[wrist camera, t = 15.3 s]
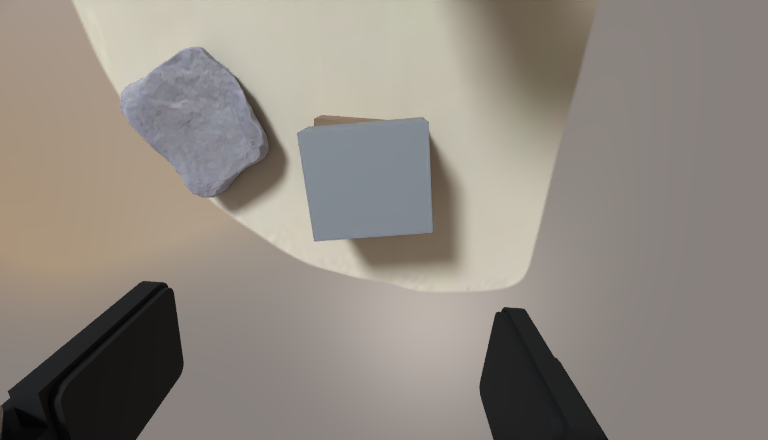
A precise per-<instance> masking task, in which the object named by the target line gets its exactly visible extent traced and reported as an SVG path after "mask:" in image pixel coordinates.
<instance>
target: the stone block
mask: <svg viewBox="0 0 768 440" xmlns="http://www.w3.org/2000/svg"><path fill="white" fill-rule="evenodd" d="M120 108H121V112H122V113H123V115H124V116H125V118H126V119H127V120H128V123H129V124H130V125H131V126H132V127H133V128H134V129H135V131H136V132H137V133H138V134H139V135H140V136H141V137H142V138H143V139H144V140H145V141H146V142H147V143H148V144H149V145H150V146H151V147H152V148H153V149H155V150H156V151H157V152H158V153H160V154H161V155H162V156H163V157H164V158H165V159H166V160H167V161H168V162H169V163H170V164H171V165H172V166H173V167H174V169H175V170H176V172H177V173H179V174H180V175H181V177H182V179H183V181H184V183H185V185H186V187H187V188H188V189H189V190H190V191H191V192H192V193H193V194H196V195H198V196H201V197H215V196H217V195H219V194H220V193H222V192H224V191H226V190H227V189H228V188H229V186H230V185H231V184H232V182H233V181H234V180H235V179H236V178H237V177H238V176H239V174H240V173H241V172H242V171H243V170H244V169H246V168H247V167H249V166H251V165H253V164H256V163H258V162H260V161H261V160H263V159H264V158H265V157H266V155H267V153H268V151H269V144H268V140H267V136H266V134H265V132H264V130H263V129H262V127H261V125H260V123H259V122H258V120H257V118H256V116H255V115H254V113H253V110H252V107H251V106H250V105H249V103H248V101H247V99H246V97H245V94H244V92H243V90H242V89H241V87H240V85H239V83H238V81H237V80H236V78H235V77H234V76H233V75H231V72H230V71H229V69H227V68H226V67H225V66H223V65H222V64H220V63H219V62H217V61H216V60H215V59H214V58H213V57H212V56H211V55H210V54H209V53H208V52H207V51H206V50H205V49H203V48H202V47H191V48H187V49H184V50H182V51H179V52H178V53H177V54H175V55H174V56H173V57H172V58H170V59H169V60H167V61H165V62H164V63H162V64H161V65H159V66H158V67H157V68H155V69H154V70H153V71H152V72H150V73H149V74H148V76H146V77H144V78H141V79H140V80H138V81H136V82H134V83H132V84H129V85H128V86H127V87H125V89H124V90H123V91H122V92H121V103H120Z"/></svg>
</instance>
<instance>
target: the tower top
mask: <svg viewBox="0 0 768 440" xmlns="http://www.w3.org/2000/svg"><path fill="white" fill-rule="evenodd" d="M297 136H298V143H299V149H300V155H301V161H302V168H303V174H304V180H305V186H306V193H307V199H308V205H309V212H310V218H311V224H312V230H313V237H314V241H326V240H340V239H354V238H367V237H381V236H395V235H408V234H422V233H433V223H432V198H431V172H430V147H429V122H428V121H427V120H426V119H424V118H423V117H419V118H407V119H395V120H383V121H371V122H359V123H348V124H336V125H324V126H312V127H307V128H305V129H303V130H302V131H300V132H298V133H297Z"/></svg>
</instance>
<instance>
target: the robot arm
mask: <svg viewBox="0 0 768 440" xmlns="http://www.w3.org/2000/svg"><path fill="white" fill-rule="evenodd" d="M182 370H183V355H182V348H181V340H180V333H179V326H178V319H177V312H176V304H175V298H174V292H173V290H172V289H171V288H168V285H167V284H166V283H163V282H150V281H143V282H141V283H139V284H138V285H137V286H135V287H134V288H133V289H132V290H131V291H129V292H128V293H127V294H126V295H125V296H123V297H122V298H121V299H120V300H119V301H117V302H116V303H115V304H114V305H113V306H111V307H110V308H109V309H107V310H106V311H105V312H104V313H103V314H101V315H100V316H99V317H98V318H97V319H95V320H94V321H93V322H92V323H90V324H89V325H88V326H87V327H86V328H85V329H83V330H82V331H81V332H80V333H78V334H77V335H76V336H75V337H73V338H72V339H71V340H70V341H69V342H67V343H66V344H65V345H64V346H62V347H61V348H60V349H59V350H58V351H56V352H55V353H54V354H53V355H52V356H50V357H49V358H48V359H47V360H45V361H44V362H43V363H42V364H41V365H39V366H38V367H37V368H36V369H34V370H33V371H32V372H31V373H30V374H28V375H27V376H26V377H25V378H24V379H22V380H21V381H20V382H19V383H17V384H16V385H15V386H14V387H13V388H11V389H10V390H9V391H8V393H9V395H10V399H8V400H7V401H6V402H5V403H4V404H2V405H0V440H136V439H137V437H138V436H139V434H140V433H141V431H142V430H143V429H144V427H145V426H146V424H147V423H148V421H149V420H150V419H151V417H152V416H153V414H154V413H155V411H156V410H157V409H158V407H159V406H160V404H161V403H162V401H163V400H164V398H165V397H166V396H167V394H168V393H169V391H170V389H171V388H172V387H173V386H174V384H175V383H176V381H177V380H178V378H179V377H180V375H181V373H182ZM480 396H481V399H482V403H483V406H484V409H485V412H486V416H487V419H488V423H489V426H490V429H491V433H492V436H493V439H494V440H608V438H607V437H606V435H605V433H604V432H603V430H602V429H601V427H600V425H599V424H598V422H597V421H596V419H595V417H594V416H593V414H592V413H591V411H590V409H589V408H588V406H587V404H586V403H585V401H584V400H583V398H582V396H581V395H580V393H579V392H578V390H577V388H576V387H575V385H574V384H573V382H572V380H571V379H570V377H569V376H568V374H567V372H566V371H565V369H564V368H563V366H562V364H561V363H560V362H559V361H558V359H557V358H555V357H554V356H553V355H552V353H551V351H550V349H549V348H548V346H547V345H546V343H545V341H544V340H543V338H542V336H541V335H540V333H539V331H538V330H537V328H536V326H535V325H534V323H533V322H532V320H531V318H530V317H529V315H528V313H527V312H526V310H525V309H521V308H508V307H504V308H503V309H502V311H501V312H497V313H496V314H495V318H494V322H493V326H492V331H491V335H490V340H489V344H488V349H487V353H486V358H485V362H484V367H483V371H482V376H481V380H480Z"/></svg>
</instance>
